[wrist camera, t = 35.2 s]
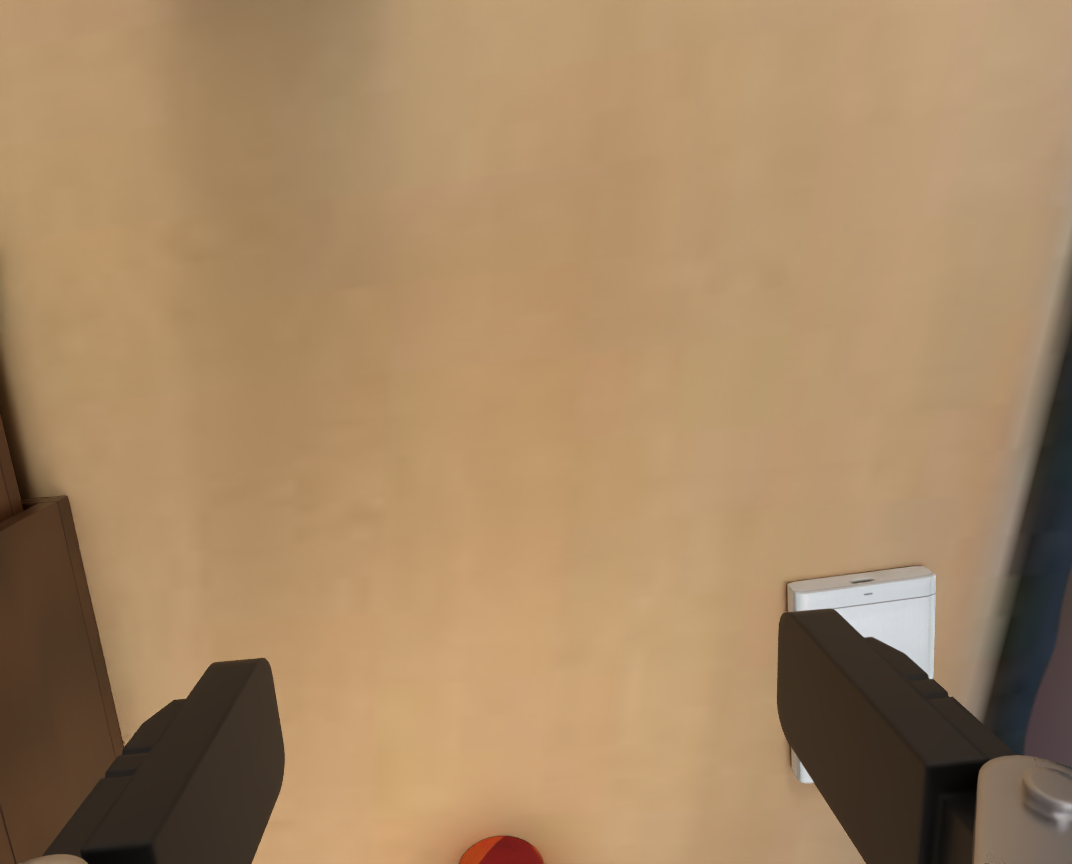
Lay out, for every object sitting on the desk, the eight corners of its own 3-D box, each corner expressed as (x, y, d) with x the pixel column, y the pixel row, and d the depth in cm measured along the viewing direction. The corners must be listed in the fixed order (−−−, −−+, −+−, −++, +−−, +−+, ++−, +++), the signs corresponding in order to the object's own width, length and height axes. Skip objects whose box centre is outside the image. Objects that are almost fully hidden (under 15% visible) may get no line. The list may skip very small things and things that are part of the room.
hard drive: (933, 766, 42) (940, 576, 39) (800, 785, 41) (797, 595, 38) (916, 747, 43) (922, 564, 40) (788, 766, 43) (784, 582, 40)
